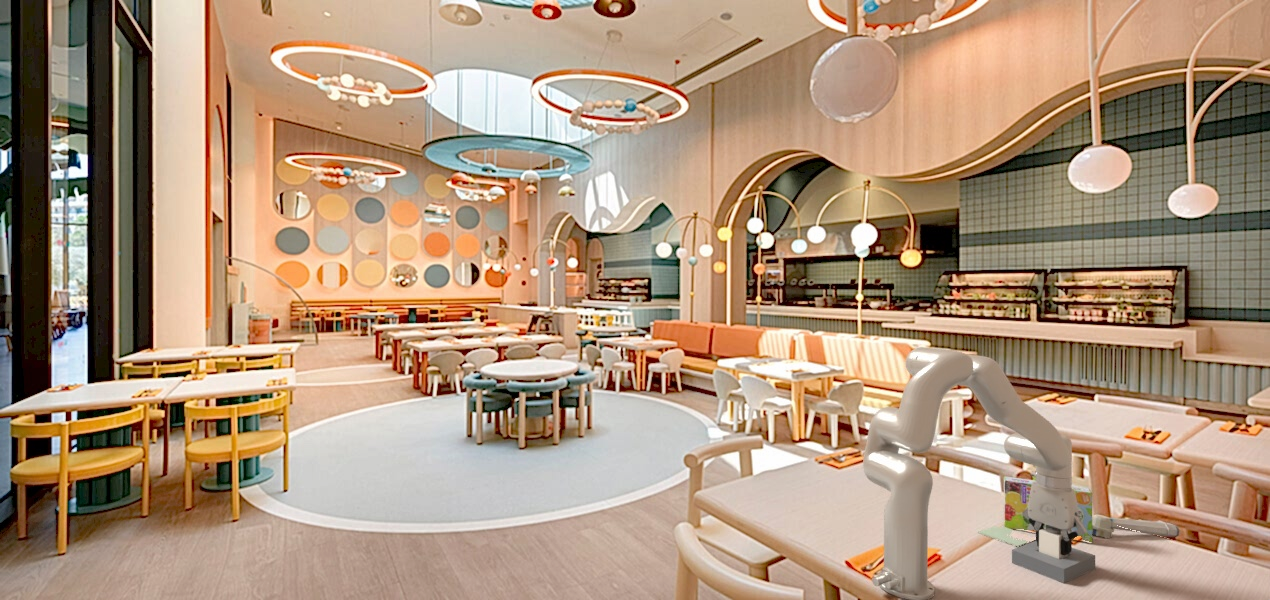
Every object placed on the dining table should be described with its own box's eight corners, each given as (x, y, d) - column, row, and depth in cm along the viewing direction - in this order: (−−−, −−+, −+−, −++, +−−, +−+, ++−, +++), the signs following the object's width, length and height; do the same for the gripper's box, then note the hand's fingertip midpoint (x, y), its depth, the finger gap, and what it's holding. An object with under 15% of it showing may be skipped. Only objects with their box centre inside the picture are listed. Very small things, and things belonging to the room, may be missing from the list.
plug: (1058, 571, 143) (1058, 532, 143) (1038, 564, 147) (1039, 525, 147) (1067, 567, 145) (1067, 528, 145) (1047, 560, 149) (1048, 522, 149)
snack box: (1089, 538, 164) (1089, 487, 164) (1092, 545, 159) (1092, 492, 159) (1003, 522, 175) (1003, 474, 175) (1004, 528, 170) (1004, 479, 170)
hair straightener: (1182, 526, 163) (1100, 514, 163) (1179, 549, 163) (1096, 537, 163) (1165, 519, 168) (1085, 508, 168) (1162, 541, 168) (1082, 529, 168)
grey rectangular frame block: (1063, 583, 137) (1064, 569, 137) (1011, 562, 147) (1012, 549, 147) (1095, 568, 144) (1095, 555, 144) (1043, 550, 155) (1043, 537, 155)
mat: (1017, 547, 157) (1017, 545, 157) (978, 532, 166) (978, 531, 166) (1038, 539, 162) (1038, 538, 162) (998, 526, 172) (998, 524, 172)
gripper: (1011, 474, 152) (1010, 540, 152) (1084, 493, 137) (1084, 566, 137) (1026, 470, 155) (1025, 535, 155) (1099, 488, 140) (1099, 560, 140)
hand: (1053, 549), depth 146 cm, fingers open, 4 cm apart
